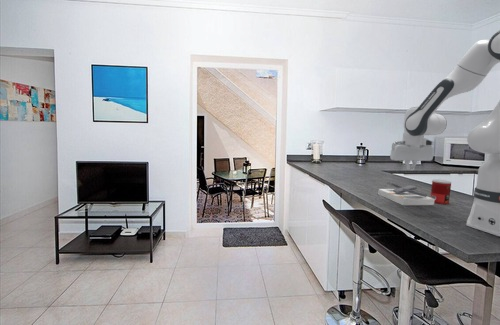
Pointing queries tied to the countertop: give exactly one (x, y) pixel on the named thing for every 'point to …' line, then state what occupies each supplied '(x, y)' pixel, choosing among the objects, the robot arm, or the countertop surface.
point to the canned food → (441, 191)
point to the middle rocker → (410, 187)
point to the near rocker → (414, 192)
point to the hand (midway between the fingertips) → (410, 169)
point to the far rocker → (393, 185)
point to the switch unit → (406, 197)
